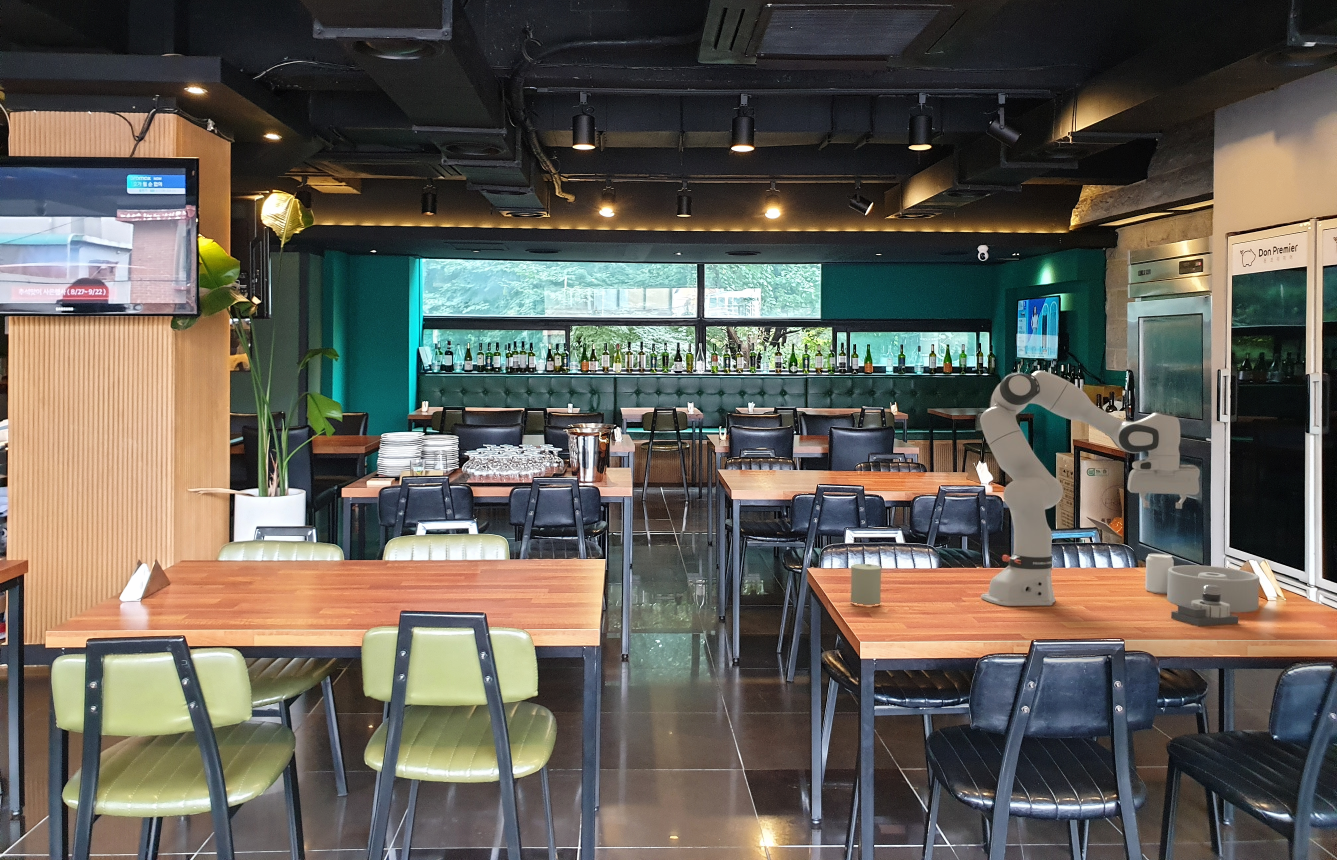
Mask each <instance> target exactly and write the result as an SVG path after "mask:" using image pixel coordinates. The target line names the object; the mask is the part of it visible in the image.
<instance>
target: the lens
mask: <svg viewBox="0 0 1337 860" xmlns="http://www.w3.org/2000/svg"><path fill="white" fill-rule="evenodd" d="M1220 592H1221V587H1220V586H1216V585H1203V594H1202V599H1203V601H1202V604H1206V605H1220V599H1221V594H1220Z"/></svg>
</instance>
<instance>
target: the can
mask: <svg viewBox="0 0 1337 860" xmlns="http://www.w3.org/2000/svg"><path fill="white" fill-rule="evenodd" d="M850 569H851V571H850V573H851V574H850V575H851V577H850V579H851V580H850V602H853V603H857V604H863V605H875V604H880V603H881V599H882V598H881V596H882V595H881V594H882V593H881V590H882V589H881V586H882V585H881V584H882V583H881V579H882V566H880V565H877V564H871V563H856V564H852V565H851V566H850ZM881 604H882V603H881Z"/></svg>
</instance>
